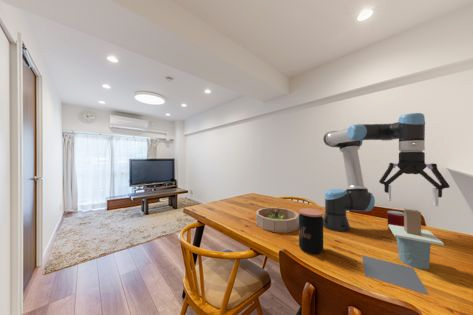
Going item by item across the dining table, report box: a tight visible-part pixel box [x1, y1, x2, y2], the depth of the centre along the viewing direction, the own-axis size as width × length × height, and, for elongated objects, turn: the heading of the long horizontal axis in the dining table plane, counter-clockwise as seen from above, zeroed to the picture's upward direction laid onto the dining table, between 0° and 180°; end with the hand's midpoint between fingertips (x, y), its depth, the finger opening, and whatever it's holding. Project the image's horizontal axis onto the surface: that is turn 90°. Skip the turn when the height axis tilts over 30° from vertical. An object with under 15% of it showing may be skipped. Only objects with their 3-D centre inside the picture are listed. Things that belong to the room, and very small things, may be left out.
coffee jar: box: [298, 207, 324, 256], centre depth 81 cm, size 11×11×18 cm
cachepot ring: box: [255, 206, 299, 233], centre depth 113 cm, size 27×27×7 cm
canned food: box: [387, 210, 404, 232], centre depth 102 cm, size 8×8×11 cm
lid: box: [387, 208, 445, 246], centre depth 70 cm, size 13×13×10 cm
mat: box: [361, 255, 430, 296], centre depth 64 cm, size 16×16×1 cm
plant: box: [266, 209, 287, 220], centre depth 112 cm, size 20×20×11 cm
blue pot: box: [395, 237, 432, 270], centre depth 70 cm, size 10×10×12 cm
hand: (411, 202), depth 70 cm, fingers open, 13 cm apart
